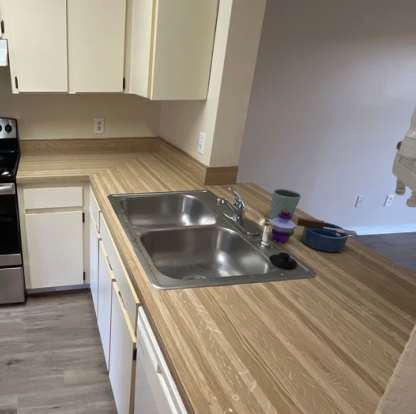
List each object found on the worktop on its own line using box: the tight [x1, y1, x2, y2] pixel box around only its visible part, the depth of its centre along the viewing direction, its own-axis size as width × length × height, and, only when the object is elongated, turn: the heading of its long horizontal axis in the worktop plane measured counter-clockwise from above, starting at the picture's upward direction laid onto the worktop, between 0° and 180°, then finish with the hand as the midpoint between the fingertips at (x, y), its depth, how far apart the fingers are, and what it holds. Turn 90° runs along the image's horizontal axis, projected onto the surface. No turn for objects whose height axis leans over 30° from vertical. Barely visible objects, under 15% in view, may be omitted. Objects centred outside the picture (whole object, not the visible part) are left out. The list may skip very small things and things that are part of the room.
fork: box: [296, 216, 359, 237], centre depth 118 cm, size 18×3×3 cm, turn 64°
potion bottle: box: [270, 209, 297, 244], centre depth 122 cm, size 9×9×12 cm
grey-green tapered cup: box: [268, 188, 302, 222], centre depth 138 cm, size 10×10×12 cm
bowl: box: [300, 221, 350, 253], centre depth 120 cm, size 13×13×6 cm
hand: (404, 200), depth 90 cm, fingers open, 8 cm apart
